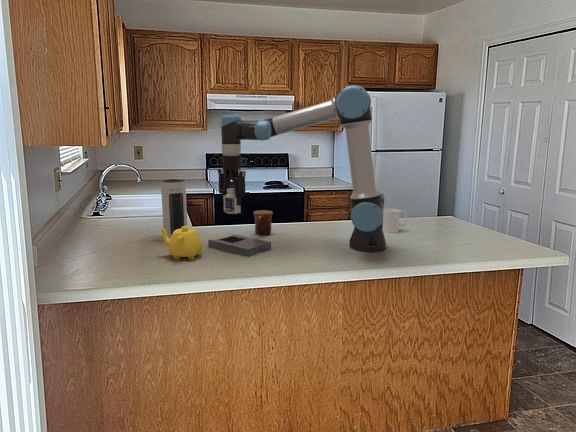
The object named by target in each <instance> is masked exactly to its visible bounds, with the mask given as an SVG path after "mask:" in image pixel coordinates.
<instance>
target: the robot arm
mask: <svg viewBox="0 0 576 432" xmlns="http://www.w3.org/2000/svg"><path fill="white" fill-rule="evenodd" d="M371 103H372V100H371V96H370V94H369V93H368V91H367V90H366V89H365V88H364V87H362V86H360V85H356V84H355V85H348V86H346V87H344V88H343V89H342V90H341V91H340V92H339V93H338V95H334V96H333V97H332V99H331V100H327V101H324V102H320V103H318V104H317V103H316V104H314V105H310V106H307V107H306V106H305V107H304V108H300V109H296V110H293V111H291V112H286V113H283V114H279V115H277V116H273V117H269V118H265V119H262V120H245V119H244V120H243V119H241V116H240V115H239V114H238V115H237V114H235V115H234V114H233V115H232V114H231V115H230V114H227V115H224V114H223V115H222V116H221V124H220V129H221V130H220V131H221V133H220V135H221V154H222V155H221V164H222V165H223V166H222V168H220V169H217V174H218V193H219V194H221V196H222V202H223V212H224V213H226V212H225V195H226V194H228V193H227V189H229V188H230V184H231V182H232V184H233V188H234V190H235V194H236V196H235V197H234V210H235V213H236V214H241V213H242V211H241V210H242V209H241V206H242V197H244V196H246V174H247V173H246V170H241V167H240V166H241V164H242V156H241V154H242V151H241V149H242V148H241V146H242V145H241V143H242V141H245V140H246V141H247V140H248V141H269V140H270V139H271V138H272V137H277V136H279V135H280V136H281V135H282V134H286V133H291V132H293V131H297V130H301V129H304V128H308V127H312V126H315V125H318V124H322V123H326V122H330V121H333V120H338V121H339V122H340V123H339V125H340V126H341V127H342V128H343V129H344V130H345V139H346V147H347V154H348V162H349V169H350V178H351V186H352V193H351V195H350V197H349V200H350V202H349V203H350V207H351V212H350V220H351V223H352V225H353V230H352V233H351V235H350V239H349V240H348V241H349V244H348V246H349V248H350V249H353V250H355V251H361V252H372V253H373V252H380V251H384V250H386V249H387V241H386V238H385V234H384V233H385V232H383V212H384V209H385V195H384V193H382V192H380V191H379V190H377V188H376V180H375V173H374V164H373V163H374V162H373V154H372V146H371V138H370V129H369V126H370V124H371V123H372V121H373V119H372V110H371V109H372V108H371Z"/></svg>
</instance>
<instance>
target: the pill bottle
mask: <svg viewBox="0 0 576 432" xmlns="http://www.w3.org/2000/svg"><path fill="white" fill-rule="evenodd" d="M227 193H228V194H226V195H225V212H224V213H225V214H230V215H231V214H232V215H235V214H236V215H237V213H235V210H234V197H235V196H236V194H235V190H234V187H233V188H230V187H229V189H227Z"/></svg>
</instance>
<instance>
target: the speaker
mask: <svg viewBox="0 0 576 432" xmlns="http://www.w3.org/2000/svg"><path fill="white" fill-rule="evenodd" d="M186 182H187V181H186V180H185V179H177V178H170V179H164V180H161V181H160V191H161V192H160V193H161V207H162V208H161V209H162V228H164V229H165V230H166V232H167V236H168V238H169V239H170V238H171V236H172V234H173V232H174V231H175V230H177V229H181V227H182V226H188V210H187V207H188V206H187V190H186V189H187V188H186V187H187V185H186Z"/></svg>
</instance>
